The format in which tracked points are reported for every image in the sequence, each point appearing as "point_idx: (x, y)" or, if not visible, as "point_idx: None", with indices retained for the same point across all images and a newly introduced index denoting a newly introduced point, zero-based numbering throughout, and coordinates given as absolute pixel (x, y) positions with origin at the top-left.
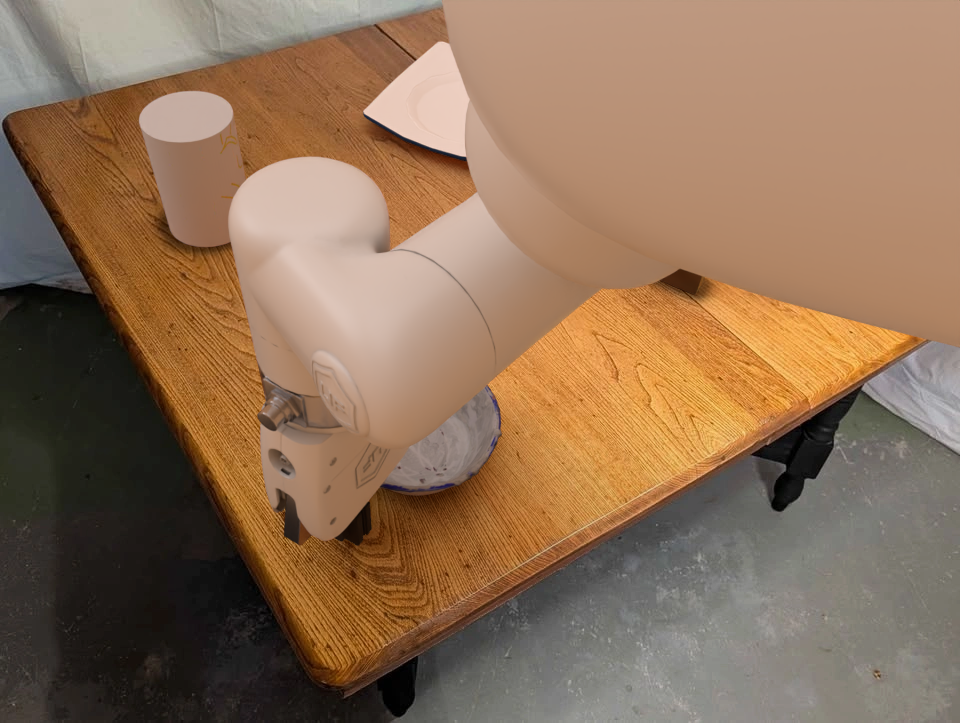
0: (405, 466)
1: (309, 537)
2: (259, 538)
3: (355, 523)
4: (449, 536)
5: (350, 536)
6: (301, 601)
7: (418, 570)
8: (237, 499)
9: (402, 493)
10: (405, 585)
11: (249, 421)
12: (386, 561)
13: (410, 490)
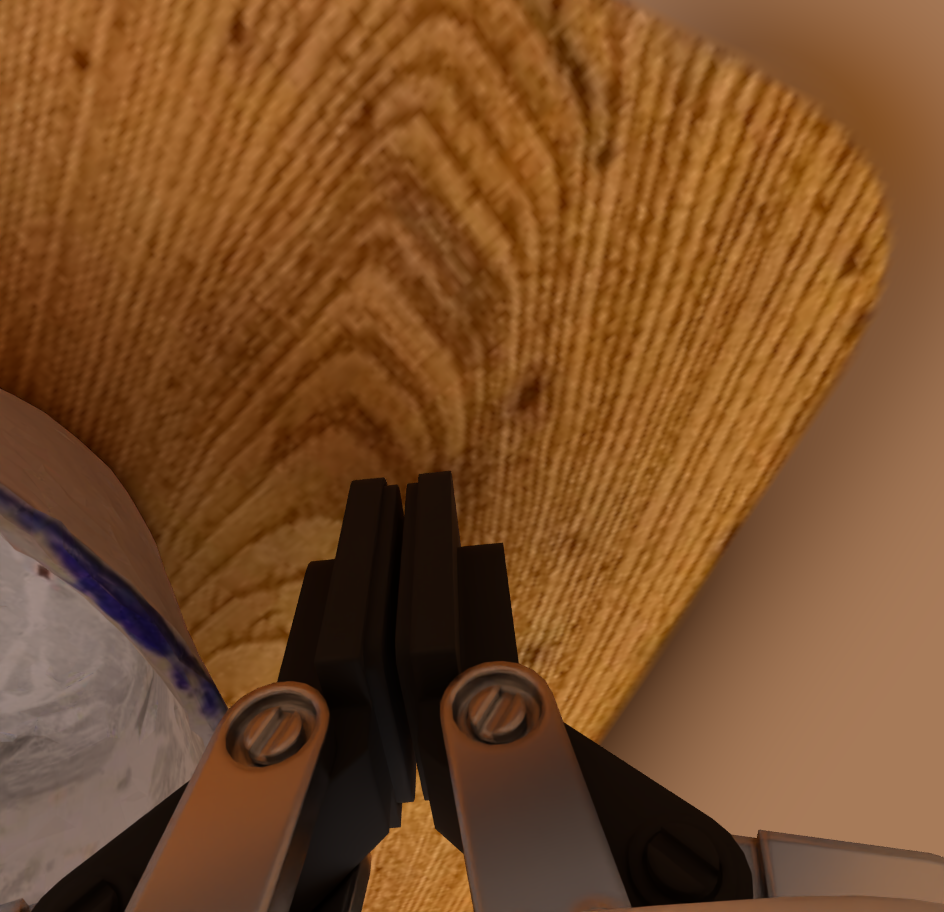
0: (15, 559)
1: (850, 842)
2: (603, 685)
3: (454, 611)
4: (76, 170)
5: (455, 531)
6: (728, 464)
7: (330, 177)
8: None
9: (115, 490)
10: (432, 177)
11: None
12: (397, 328)
13: (45, 533)
